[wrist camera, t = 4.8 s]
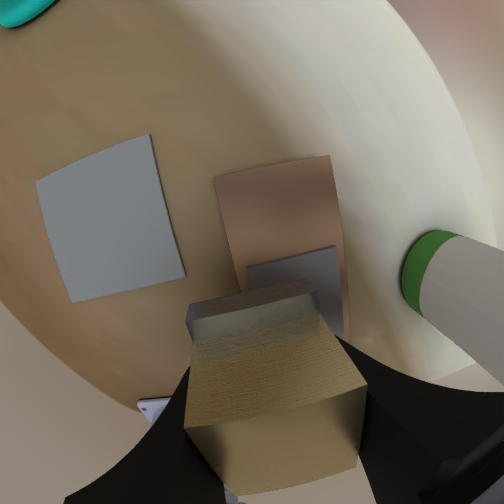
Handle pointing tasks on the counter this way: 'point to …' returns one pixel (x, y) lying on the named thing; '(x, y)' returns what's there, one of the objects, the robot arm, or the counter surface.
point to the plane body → (288, 232)
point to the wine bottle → (460, 293)
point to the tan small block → (271, 390)
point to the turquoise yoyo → (21, 11)
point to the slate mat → (110, 222)
